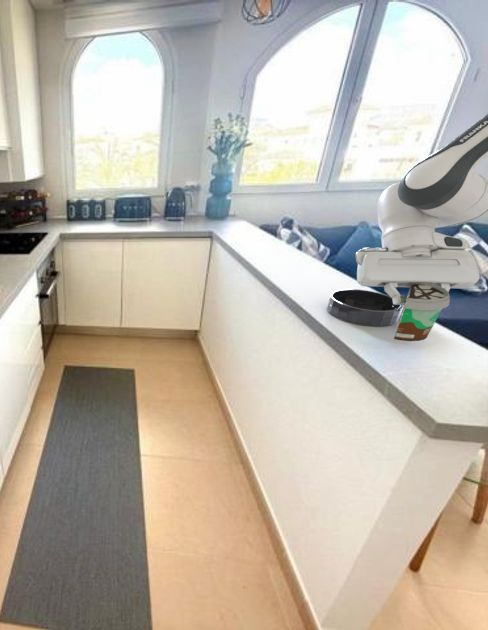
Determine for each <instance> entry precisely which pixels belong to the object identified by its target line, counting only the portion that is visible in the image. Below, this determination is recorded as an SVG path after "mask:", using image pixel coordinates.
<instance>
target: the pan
mask: <svg viewBox="0 0 488 630" xmlns="http://www.w3.org/2000/svg"><path fill="white" fill-rule="evenodd" d="M403 307H404V304H403V305H394V304H393V300H392V298H391V297H390V296H389V295H388V294H384V293H380V292H376V291H372V290H365V289H355V288H354V289H353V288H345V289H338V290H334V291H332V292H331V293H330V294H329V298H328V301H327V305H326V312H327V313H328V314H329V315H331V316H332V317H334V318H336V319H338V320H340V321H343V322H345V323H350V324H354V325H358V326H363V327H364V326H365V327H373V328H374V327H375V328H380V327H381V328H383V327H390V326H393V325H395V324H396V323H398V321H399V318H400V315H401V312H402V310H403Z"/></svg>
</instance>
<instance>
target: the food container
mask: <svg viewBox="0 0 488 630" xmlns="http://www.w3.org/2000/svg"><path fill="white" fill-rule="evenodd" d="M405 299H406V303H405V304H403V308H402V310H401V313H400V315H399V318H398V320H397V325H396V327H395V328H396V329H395V332H394V337H393V340H397V341H403V342H420V341H424V340H426V339H427V338H428V336H429V335H430V332H431V331H432V329H433V327H434V325H435V323H436V321H437V319H438V317H440V316H439V315H440V314H441V312H442V311H443V309H446V308H448V307H449V306H450V301H451V296H450V291H449V292H448V291H447V290H445V289H444V288H442V287H439V286H437V285H434V284H430V283H413V282H412V284H411V287H409V290H408V293H407V295H406V298H405Z"/></svg>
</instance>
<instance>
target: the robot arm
mask: <svg viewBox="0 0 488 630" xmlns="http://www.w3.org/2000/svg"><path fill="white" fill-rule="evenodd" d="M487 157H488V113H486V114H485V115H484V116H483V117H482V118H480V119H478V120H477V121H476V122H475V123H474V124H472V125H471V126H469V127H468V128H467V129H466V130H465V131H463V132H462V133H461V134H459V135H458V136H457V137H455V138H454V139H453V140H451V141H450V142H449V143H447V144H446V145H445V146H443V147H441V148H440V149H438V150H436V151H435V152H433V153H432V154H430V155H428V156H426V157H425V158H423V159H421V160H420V161H418V162H416V163H415V164H414V165H412V166H411V167H410V168H409V169H408V170H407V171H406V172H405V174H403V176H402V177H401V179H400V181H398V182H396V183H393V184H392V185H390V186H388V187H387V188H386V189H384V190H383V192H382V193H381V194H380V196H379V198H378V200H377V207H376V208H377V209H376V210H377V222H378V227H379V229H380V231H381V238H380V243H381V247H363V248H362V249H359V250H357V251H356V253H355V261H356V263H357V269H356V281H357V283H358V284H359V285H360V286H361V287H374V288H375V287H377V288H379V287H381V288H383V289H384V292H385V293H386V295H388V296H390V297H391V298H392V300H393V304H394V305H403V306H404V304H405V303H406V298H407V296H406V294H401V293H400V292H399V291H398V289H397V288H410V287H411V284H412V282H413V283H430V284H434V285H437V286H439V287H442V288H444V289H445V290H447V291H448V292H449V293H450V290H451V289H459V290H460V289H464V290H465V289H467V288H469V287H471V286H473V285H475V284H476V283H478V281H479V280H480V277H481V276H480V272H479V267H478V264H477V262H476V260H475V258H474V256H473V254H472V253H471V252H469V250H467V249H468V248H469V246H470V245H469V241H468V240H467V239H465V238H462V237H456V236H450V235H446V234H444V233H441V232H436V230H435V229H439V228H446V227H450V226H455V225H460V224H463V223H466V222H467V223H468V222H470V221H473V220H476V219H477V218H479V217H481V216H482V215H484V214H485V213H487V212H488V179H486V178H485V177H484V176H483V175H482V174H479V173H478V172H476V171H475V169H476V167H477V166H478V165H479V164H480V162H482V161H483V160H484V159H485V158H487Z"/></svg>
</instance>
